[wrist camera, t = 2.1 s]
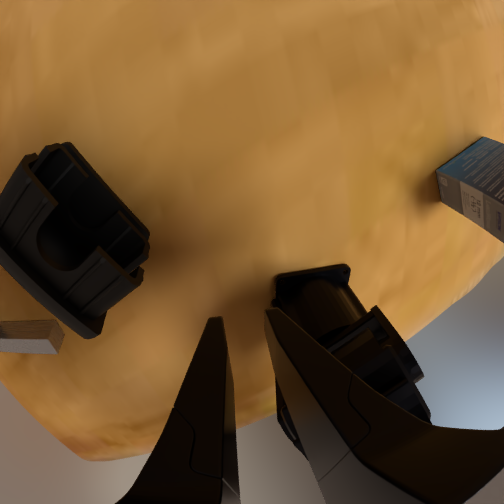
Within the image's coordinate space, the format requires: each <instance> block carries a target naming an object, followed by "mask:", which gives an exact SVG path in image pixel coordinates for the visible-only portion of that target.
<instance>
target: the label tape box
mask: <svg viewBox="0 0 504 504" xmlns="http://www.w3.org/2000/svg"><path fill="white" fill-rule="evenodd" d="M436 174H437V179H438V184H439V190H440V195H441V200H442V203H444V204H446V205H448V206H449V207H451V208H452V209H454V210H455V211H457V212H459V213H460V214H462V215H464V216H465V217H467V218H468V219H470V220H471V221H473V222H474V223H476V224H477V225H479V226H480V227H482V228H483V229H485V230H486V231H488V232H489V233H490V234H492V235H493V236H495V237H496V238H497V239H499V240H500V241H501V242H503V243H504V144H503V143H500V142H498V141H495V140H492V139H490V138H487V137H483V138H481V139H480V140H479V141H477V142H476V143H474V144H473V145H472V146H470V147H469V148H467V149H466V150H465V151H463V152H462V153H460V154H459V155H458V156H456V157H455V158H453V159H452V160H450V161H449V162H448V163H446V164H445V165H443V166H442V167H440V168H439V169H437V170H436Z"/></svg>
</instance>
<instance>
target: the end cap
mask: <svg viewBox="0 0 504 504" xmlns="http://www.w3.org/2000/svg"><path fill="white" fill-rule="evenodd" d="M149 236H150V232H149V230H148V229H147V228H146V227H145V226H144V225H143V224H142V222H141V221H140V220H139V219H138V218H137V217H136V216H135V215H134V214H133V213H132V212H131V211H130V210H129V208H128V207H127V206H126V205H125V204H124V203H123V202H122V201H121V200H120V199H119V197H118V196H117V195H116V194H115V193H114V192H113V191H112V190H111V189H110V187H109V186H108V185H107V184H106V183H105V182H104V181H103V179H102V178H101V177H100V176H99V175H98V174H97V173H96V171H95V170H94V169H93V168H92V167H91V166H90V164H89V163H88V162H87V161H86V160H85V159H84V157H83V156H82V155H81V154H80V153H79V151H78V150H77V149H76V148H75V147H74V145H73V144H72V143H70V142H64V143H62V144H59V143H55V144H52V145H47V146H45V147H44V149H43V150H42V151H41V152H40V154H39V155H37V154H36V153H33V154H29V155H25V156H24V158H23V159H22V161H21V162H20V164H19V165H18V167H17V168H16V170H15V171H14V173H13V174H12V176H11V178H10V179H9V181H8V183H7V184H6V186H5V188H4V189H3V191H2V193H1V195H0V265H1V266H2V267H3V268H4V269H5V270H6V271H7V272H8V273H9V274H10V275H11V276H12V277H13V278H14V279H15V280H16V281H17V282H18V283H19V284H20V285H21V286H22V287H23V288H24V289H25V290H26V291H27V292H28V293H30V294H31V295H32V296H33V297H34V298H35V299H36V300H37V301H38V302H39V303H41V304H42V305H43V306H44V307H45V308H46V309H47V310H49V311H50V312H51V313H52V314H53V315H55V316H56V317H57V318H58V319H59V320H61V321H62V322H63V323H64V324H66V325H67V326H68V327H69V328H71V329H72V330H73V331H75V332H76V333H77V334H79V335H80V336H81V337H83V338H84V339H92V338H95V337H96V336H98V335H100V334H101V331H102V328H103V324H104V321H105V317H106V313H107V310H108V309H110V308H111V307H112V306H114V305H115V304H116V303H117V302H119V301H120V300H121V299H123V298H124V297H125V296H127V295H128V294H129V293H130V292H132V291H133V290H134V289H136V288H137V287H138V286H140V285H141V283H142V281H143V274H144V270H143V269H142V268H141V267H140V266H139V265H140V264H142V263H143V262H144V261H145V260H147V259H148V255H149V254H148V253H149V249H150V245H149V242H148V240H149ZM135 268H136V269H135ZM134 269H135V270H134ZM130 272H131V273H130ZM129 273H130V274H129Z"/></svg>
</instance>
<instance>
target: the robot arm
mask: <svg viewBox="0 0 504 504" xmlns="http://www.w3.org/2000/svg"><path fill="white" fill-rule="evenodd" d="M344 270H345V271H344ZM343 271H344V272H343ZM350 272H351V269H350V267H349V266H348V265H347V264H343V265H337V266H331V267H325V268H319V269H313V270H307V271H300V272H294V273H287V274H281V275H278V276H277V277H276V278H275V299H272V301H271V308H270V309H266V310H265V311H264V326H265V334H266V339H267V343H268V347H269V352H270V356H271V360H272V365H273V369H274V373H275V383H276V405H277V419H278V422H279V424H280V425H281V427H282V429H283V431H284V432H285V434H286V435H287V437H288V438H289V439H290V440H291V441H292V442H293V444H294V446H296V448H298V450H299V451H301V452H302V453H303V455H304V456H305V457H306V459H307V460H308V461H309V463H310V465H311V468H312V470H313V472H314V475H315V478H316V480H317V482H318V485H319V487H320V490H321V492H322V494H323V497H324V499H325V501H326V504H504V427H502V428H501V429H499V430H473V429H459V428H448V427H440V426H435V425H432V423H431V421H430V417H431V413H430V410H429V408H428V407H427V405H426V403H425V401H424V399H423V397H422V396H421V394H420V392H419V391H418V389H417V387H416V385H415V383H416V382H418V381H419V380H421V379H422V378H423V377H424V374H423V372H422V370H421V368H420V366H419V365H418V363H417V361H416V359H415V358H414V356H413V355H412V353H411V351H410V350H409V348H408V347H407V345H406V344H405V342H404V341H403V339H402V338H401V336H400V335H399V334H398V332H397V331H396V330H395V328H394V327H393V326H392V324H391V323H390V322H389V321H388V319H387V318H386V317H385V315H384V314H383V313H382V312H381V310H380V309H379V308H378V306H377V305H375V306H374V307H373V308H371V309H370V310H371V311H369V312H368V313H367V311H366V310H365V308H364V307H363V305H362V304H361V302H360V301H359V299H358V298H357V296H356V295H355V294H354V292H353V291H352V289H351V288H350V286H349V285H348V282H349V277H350ZM281 280H284V281H283V282H280V281H281ZM239 498H240V489H239V476H238V459H237V442H236V424H235V404H234V384H233V376H232V370H231V364H230V359H229V353H228V347H227V341H226V335H225V329H224V322H223V317H222V316H217V317H211V318H209V319H208V321H207V324H206V326H205V329H204V331H203V334H202V336H201V338H200V341H199V343H198V346H197V348H196V351H195V353H194V356H193V358H192V361H191V363H190V366H189V368H188V370H187V373H186V375H185V378H184V380H183V383H182V385H181V388H180V390H179V393H178V395H177V398H176V401H175V403H174V408H172V410H171V413H170V415H169V418H168V420H167V423H166V425H165V427H164V429H163V432H162V434H161V436H160V438H159V440H158V442H157V444H156V445H155V447H154V449H153V451H152V453H151V455H150V456H149V458H148V460H147V462H146V463H145V465H144V467H143V469H142V470H141V472H140V474H139V476H138V477H137V479H136V481H135V482H134V484H133V486H132V487H131V488H130V490H129V491H128V492H127V493H126V494H125V495H124V496H123V497H122V498H121V499H120V500H119V501H118V502H117V503H115V504H241V503H240V499H239Z"/></svg>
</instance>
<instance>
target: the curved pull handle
mask: <svg viewBox="0 0 504 504" xmlns="http://www.w3.org/2000/svg"><path fill="white" fill-rule="evenodd" d="M64 335H65V334H64V333H63V331H62V330H61V328H60V326H59V325H58V323H57V321H56V320H42V321H14V322H0V351H2V352H16V353H36V354H58V353H59V350H60V347H61V344H62V341H63V338H64Z"/></svg>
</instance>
